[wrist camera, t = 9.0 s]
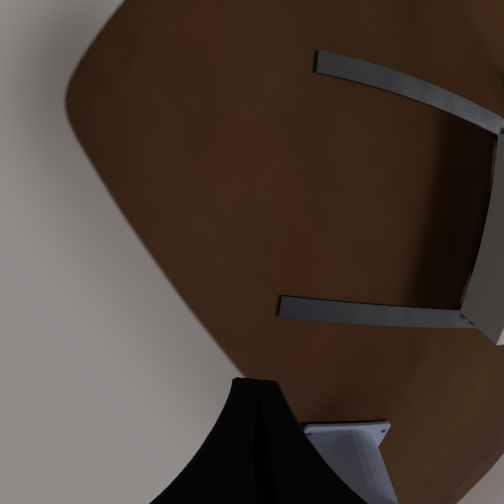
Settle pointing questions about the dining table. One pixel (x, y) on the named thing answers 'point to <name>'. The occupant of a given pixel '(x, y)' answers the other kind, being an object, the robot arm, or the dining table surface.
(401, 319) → the track
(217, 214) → the dining table surface
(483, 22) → the dining table surface
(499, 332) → the white open box
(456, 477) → the dining table surface
